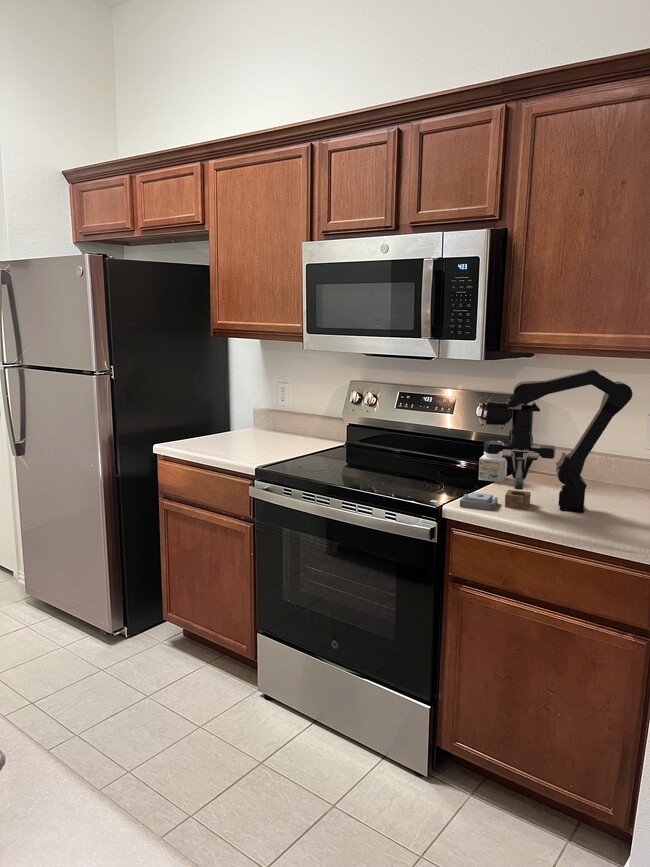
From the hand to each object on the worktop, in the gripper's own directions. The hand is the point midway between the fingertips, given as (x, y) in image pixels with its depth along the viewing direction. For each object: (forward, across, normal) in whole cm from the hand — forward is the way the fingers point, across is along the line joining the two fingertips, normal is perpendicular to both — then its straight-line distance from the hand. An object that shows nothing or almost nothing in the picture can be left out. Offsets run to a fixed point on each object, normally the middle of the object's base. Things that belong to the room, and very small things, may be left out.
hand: (519, 478), depth 192 cm
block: (+8, +10, +4) cm, 14 cm away
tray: (+8, +11, +4) cm, 14 cm away
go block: (+8, 0, 0) cm, 8 cm away
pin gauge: (+3, 0, 0) cm, 3 cm away
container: (+8, +12, -28) cm, 32 cm away
